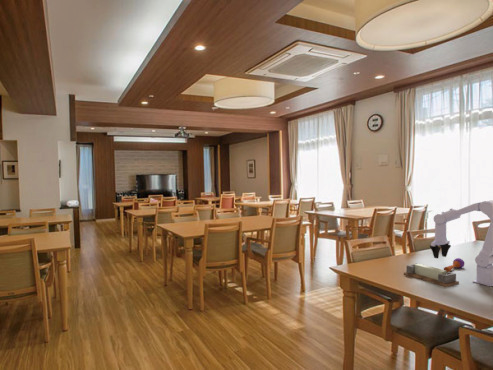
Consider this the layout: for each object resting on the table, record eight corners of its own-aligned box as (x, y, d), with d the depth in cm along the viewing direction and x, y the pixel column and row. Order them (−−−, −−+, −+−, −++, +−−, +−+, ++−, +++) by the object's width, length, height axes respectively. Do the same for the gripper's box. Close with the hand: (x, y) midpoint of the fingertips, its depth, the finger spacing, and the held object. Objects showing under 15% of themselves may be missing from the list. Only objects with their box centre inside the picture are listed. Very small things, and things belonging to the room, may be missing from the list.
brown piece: (440, 264, 201) (454, 257, 213) (442, 274, 201) (456, 266, 213) (450, 264, 196) (464, 257, 208) (453, 275, 196) (467, 266, 208)
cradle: (458, 283, 177) (459, 274, 177) (446, 286, 172) (446, 276, 172) (416, 271, 200) (416, 262, 199) (403, 274, 195) (403, 265, 194)
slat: (446, 280, 180) (446, 270, 180) (441, 281, 178) (441, 271, 178) (419, 272, 194) (419, 263, 194) (414, 273, 192) (414, 264, 192)
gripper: (441, 232, 203) (441, 254, 203) (426, 234, 196) (425, 257, 196) (453, 234, 196) (452, 257, 197) (437, 236, 190) (437, 259, 190)
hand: (440, 257), depth 196 cm, fingers open, 7 cm apart
